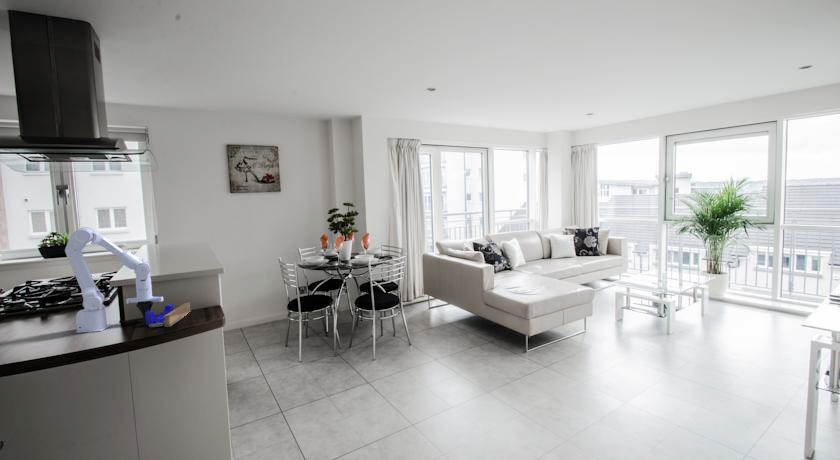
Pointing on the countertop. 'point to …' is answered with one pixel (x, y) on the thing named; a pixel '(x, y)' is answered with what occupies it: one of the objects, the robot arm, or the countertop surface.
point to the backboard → (176, 314)
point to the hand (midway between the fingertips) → (146, 317)
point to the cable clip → (153, 319)
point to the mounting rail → (157, 324)
